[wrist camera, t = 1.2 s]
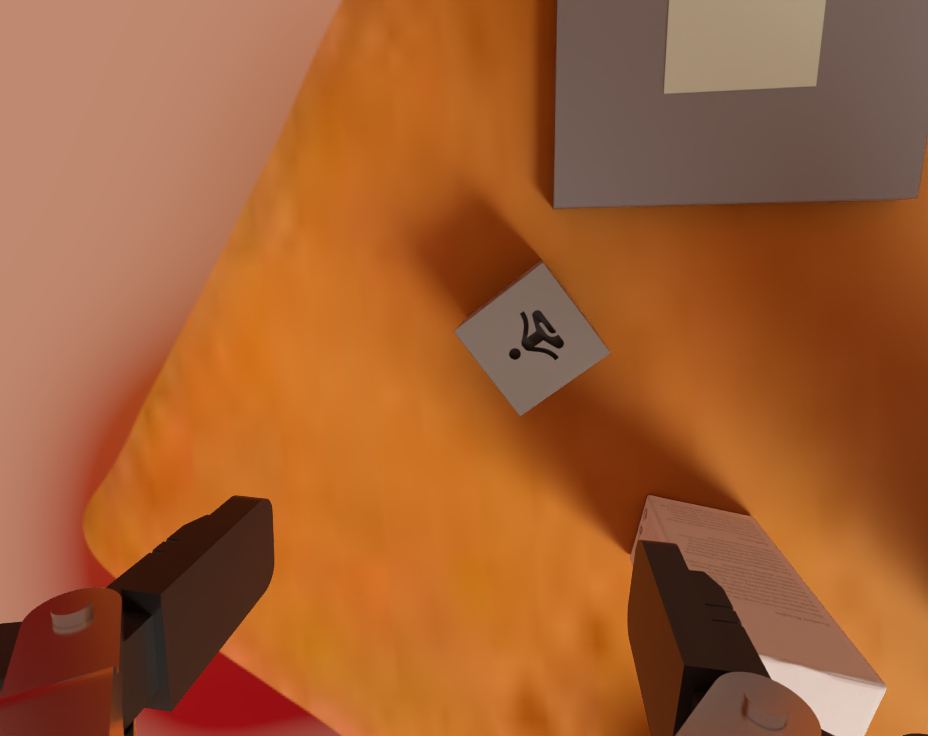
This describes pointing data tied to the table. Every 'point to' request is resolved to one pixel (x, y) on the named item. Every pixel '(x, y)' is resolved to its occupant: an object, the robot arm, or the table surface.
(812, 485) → the table surface
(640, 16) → the plate
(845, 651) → the skincare box
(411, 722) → the table surface
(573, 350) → the dice cube
